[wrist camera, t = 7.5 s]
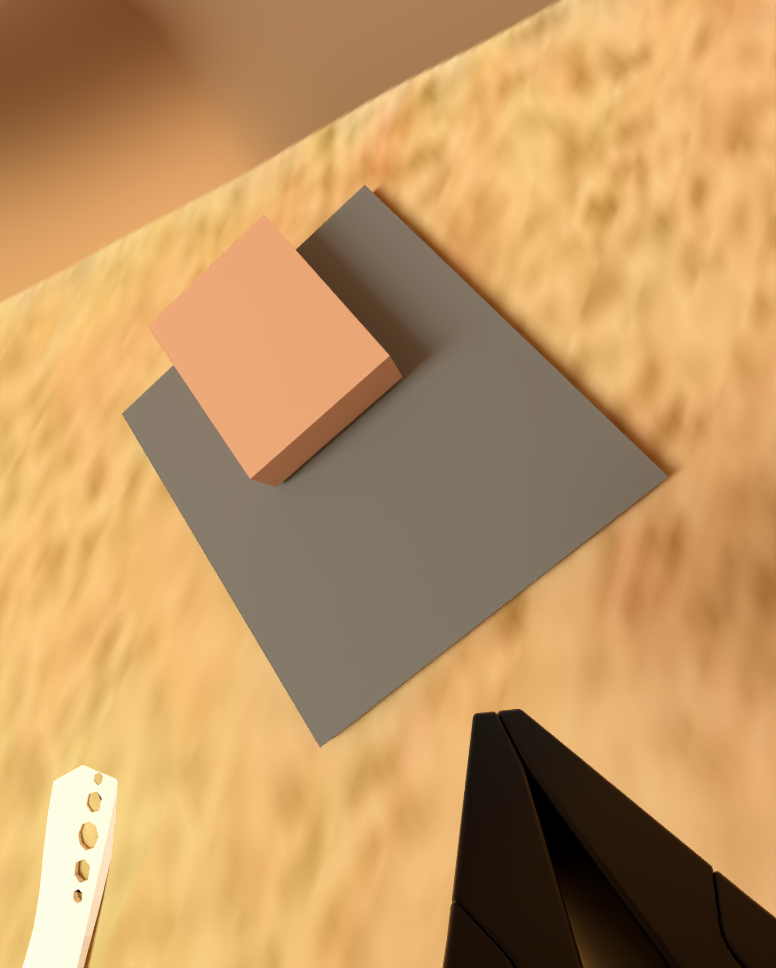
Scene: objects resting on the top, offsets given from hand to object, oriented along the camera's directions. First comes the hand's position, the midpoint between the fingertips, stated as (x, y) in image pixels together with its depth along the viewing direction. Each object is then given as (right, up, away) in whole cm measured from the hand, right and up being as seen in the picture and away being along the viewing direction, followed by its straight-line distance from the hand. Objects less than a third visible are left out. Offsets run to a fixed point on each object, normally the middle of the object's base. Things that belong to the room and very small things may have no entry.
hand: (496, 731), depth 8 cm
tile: (-4, +7, +10) cm, 13 cm away
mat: (-4, +6, +12) cm, 14 cm away
